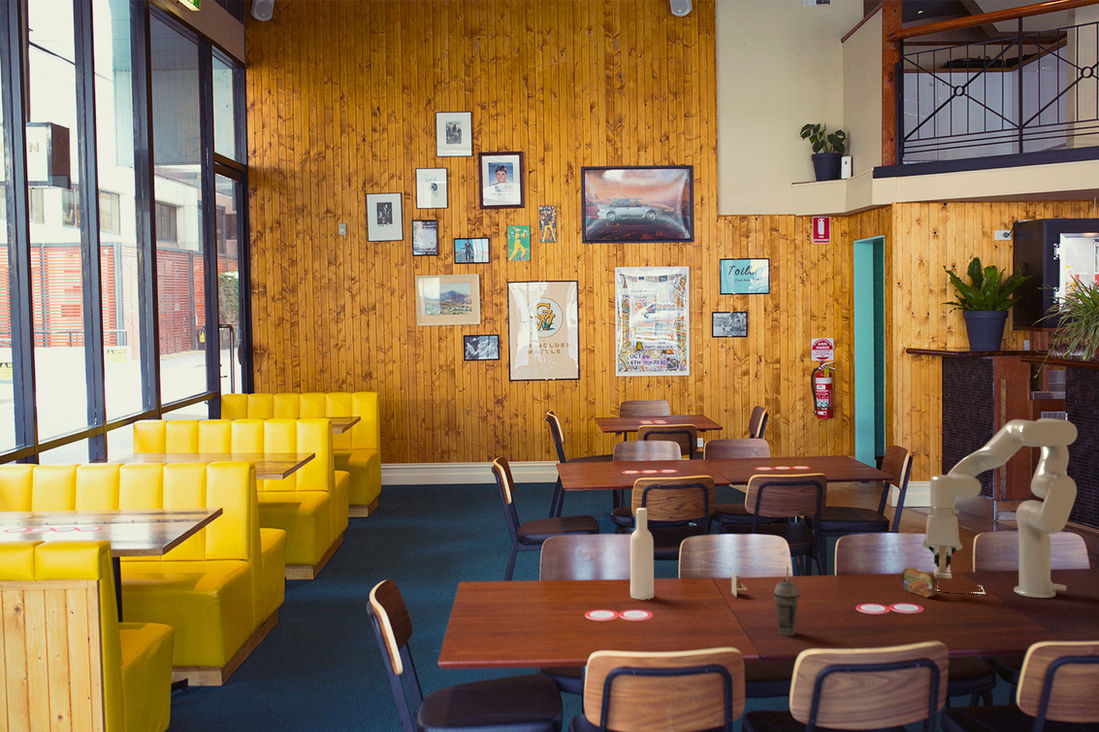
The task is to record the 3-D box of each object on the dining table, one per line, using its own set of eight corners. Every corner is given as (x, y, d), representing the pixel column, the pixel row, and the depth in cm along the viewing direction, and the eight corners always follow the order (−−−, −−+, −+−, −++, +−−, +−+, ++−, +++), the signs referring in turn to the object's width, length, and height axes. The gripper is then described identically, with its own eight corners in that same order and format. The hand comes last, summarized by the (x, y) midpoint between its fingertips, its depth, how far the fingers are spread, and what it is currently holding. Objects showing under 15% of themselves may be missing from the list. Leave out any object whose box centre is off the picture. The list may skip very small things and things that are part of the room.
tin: (901, 589, 325) (900, 565, 325) (908, 588, 326) (907, 564, 326) (932, 600, 311) (931, 575, 310) (939, 599, 312) (939, 573, 311)
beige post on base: (949, 573, 318) (949, 540, 318) (951, 578, 311) (951, 544, 311) (933, 572, 320) (933, 540, 320) (935, 577, 312) (935, 543, 313)
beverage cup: (795, 629, 279) (795, 562, 279) (802, 637, 272) (802, 568, 271) (771, 629, 279) (770, 563, 278) (777, 637, 271) (777, 568, 271)
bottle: (645, 601, 311) (645, 511, 311) (625, 597, 316) (625, 509, 316) (658, 596, 318) (657, 508, 317) (638, 592, 323) (638, 506, 322)
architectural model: (741, 594, 322) (741, 572, 321) (747, 599, 315) (747, 577, 315) (731, 594, 321) (731, 573, 321) (737, 600, 314) (737, 577, 314)
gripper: (967, 511, 316) (967, 565, 317) (916, 509, 321) (916, 562, 322) (969, 515, 309) (969, 570, 309) (917, 512, 314) (917, 567, 315)
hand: (942, 566), depth 316 cm, fingers closed on beige post on base
